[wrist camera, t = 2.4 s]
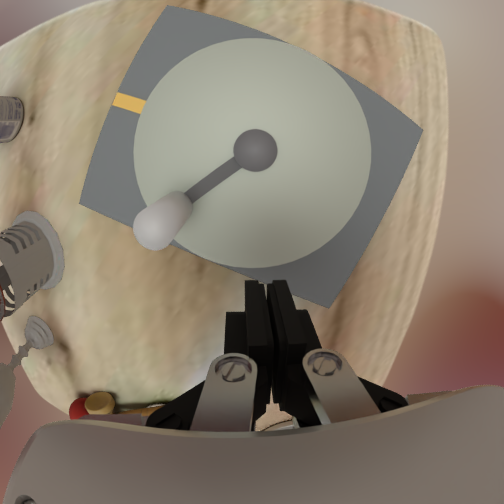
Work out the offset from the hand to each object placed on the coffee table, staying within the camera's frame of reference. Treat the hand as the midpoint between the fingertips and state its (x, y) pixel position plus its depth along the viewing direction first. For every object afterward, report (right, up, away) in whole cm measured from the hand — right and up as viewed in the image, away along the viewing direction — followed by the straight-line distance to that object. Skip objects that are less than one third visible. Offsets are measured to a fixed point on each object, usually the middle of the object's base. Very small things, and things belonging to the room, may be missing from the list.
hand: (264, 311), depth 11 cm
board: (0, +11, +11) cm, 15 cm away
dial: (0, +10, +9) cm, 14 cm away
